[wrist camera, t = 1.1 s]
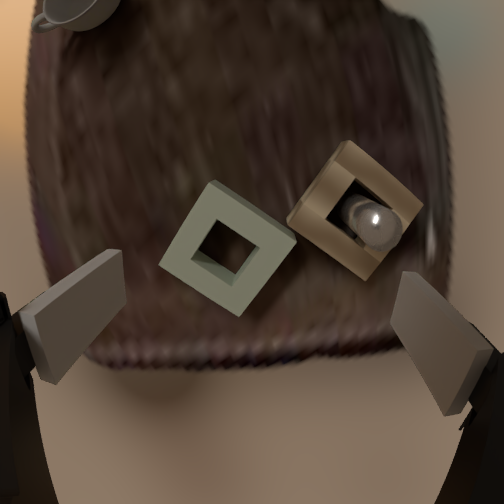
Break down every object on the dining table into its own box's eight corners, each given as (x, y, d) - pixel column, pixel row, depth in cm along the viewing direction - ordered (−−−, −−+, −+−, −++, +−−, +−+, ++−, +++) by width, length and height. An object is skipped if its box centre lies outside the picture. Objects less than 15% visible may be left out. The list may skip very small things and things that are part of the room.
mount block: (341, 141, 35) (349, 140, 32) (410, 199, 37) (423, 204, 33) (286, 218, 39) (287, 225, 35) (357, 269, 40) (365, 281, 36)
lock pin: (348, 185, 37) (380, 200, 26) (372, 204, 37) (410, 226, 26) (330, 211, 38) (354, 235, 27) (353, 229, 39) (384, 259, 27)
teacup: (129, -30, 28) (107, -53, 20) (133, 20, 31) (107, -1, 24) (56, 7, 30) (28, -7, 22) (55, 57, 33) (23, 48, 25)
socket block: (215, 179, 38) (208, 182, 34) (294, 233, 39) (296, 242, 35) (168, 254, 41) (158, 264, 37) (241, 302, 43) (239, 316, 39)
